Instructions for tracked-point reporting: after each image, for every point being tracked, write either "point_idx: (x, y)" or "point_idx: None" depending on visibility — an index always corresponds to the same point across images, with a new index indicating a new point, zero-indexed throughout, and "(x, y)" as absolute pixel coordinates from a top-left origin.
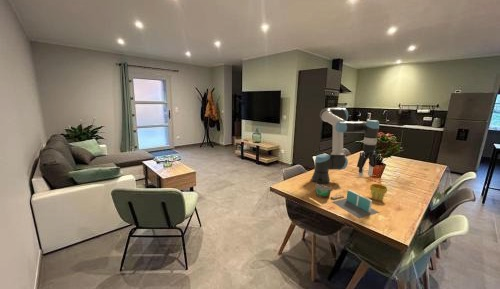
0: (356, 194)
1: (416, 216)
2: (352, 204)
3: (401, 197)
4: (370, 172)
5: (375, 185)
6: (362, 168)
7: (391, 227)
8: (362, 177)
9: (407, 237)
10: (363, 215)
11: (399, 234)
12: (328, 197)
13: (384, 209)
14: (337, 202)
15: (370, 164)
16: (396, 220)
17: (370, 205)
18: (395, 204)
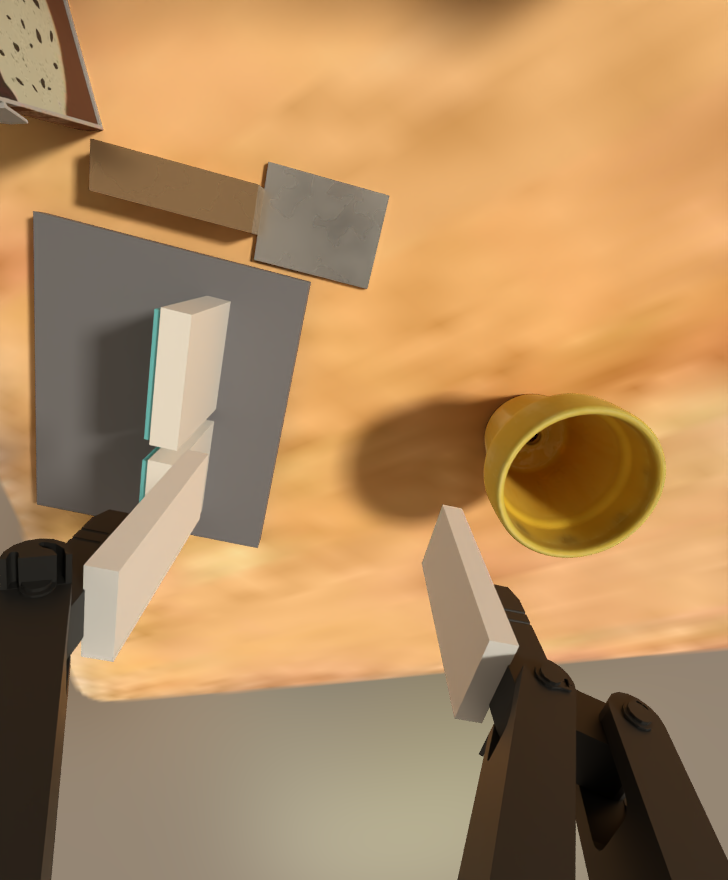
0: (150, 429)
1: (437, 665)
2: None
3: (712, 535)
4: (439, 581)
5: (633, 429)
6: (83, 640)
7: (166, 630)
8: (196, 520)
9: (147, 694)
10: (104, 503)
11: (136, 669)
12: (69, 125)
13: (368, 534)
14: (86, 259)
15: (514, 702)
16: (277, 621)
17: None
18: (525, 550)
